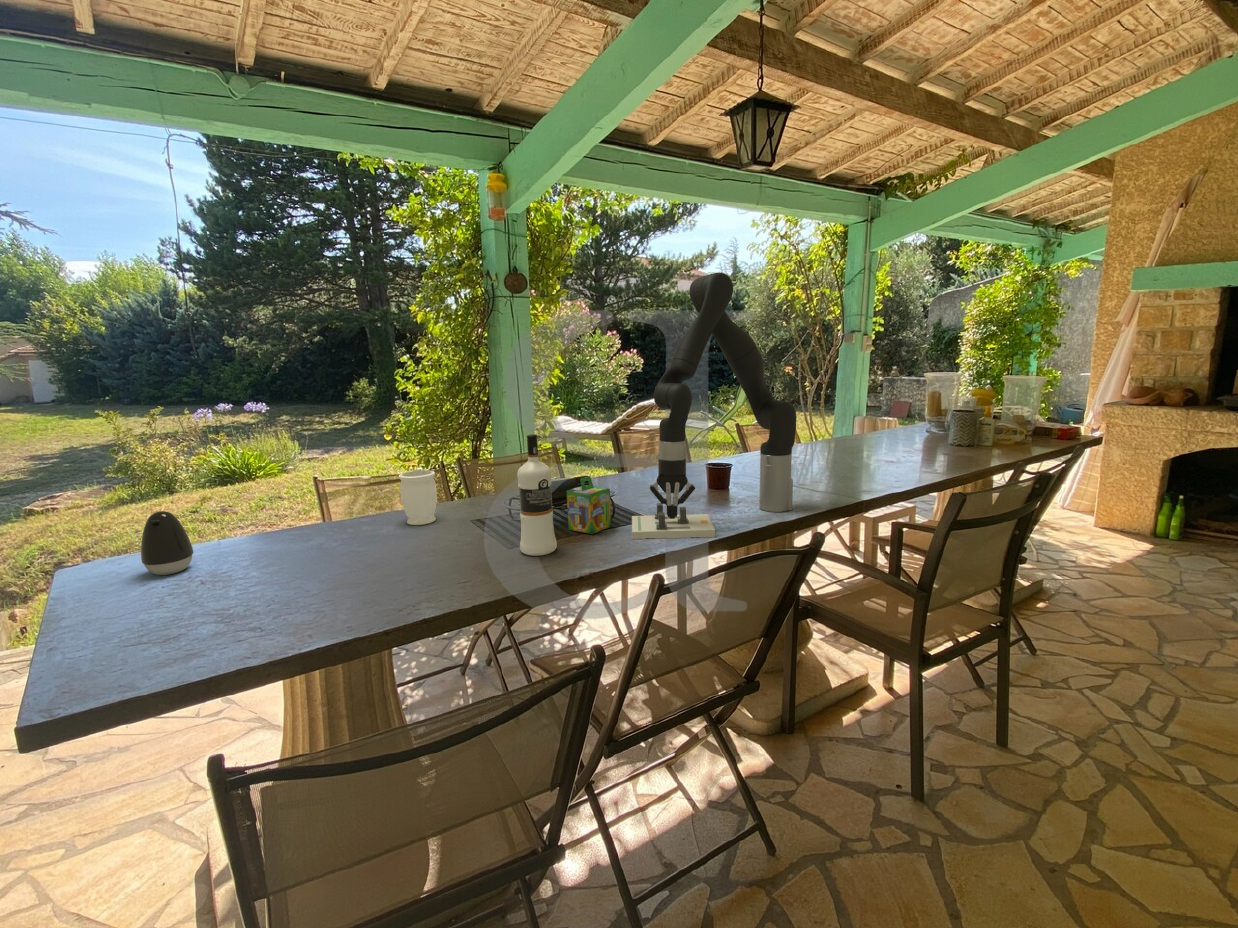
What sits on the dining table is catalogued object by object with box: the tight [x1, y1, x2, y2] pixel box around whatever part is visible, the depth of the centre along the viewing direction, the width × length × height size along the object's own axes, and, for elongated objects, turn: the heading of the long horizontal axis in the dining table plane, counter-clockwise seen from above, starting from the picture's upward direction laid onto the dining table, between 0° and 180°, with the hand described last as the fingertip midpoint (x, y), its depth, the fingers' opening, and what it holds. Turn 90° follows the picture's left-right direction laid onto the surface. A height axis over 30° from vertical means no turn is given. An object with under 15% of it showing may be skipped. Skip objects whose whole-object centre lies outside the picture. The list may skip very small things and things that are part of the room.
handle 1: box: [654, 502, 664, 518], centre depth 173 cm, size 3×3×4 cm
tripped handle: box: [678, 506, 689, 523], centre depth 168 cm, size 3×3×4 cm
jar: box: [398, 469, 438, 526], centre depth 183 cm, size 11×10×15 cm
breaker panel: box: [631, 513, 716, 540], centre depth 169 cm, size 22×15×2 cm
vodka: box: [516, 433, 558, 557], centre depth 152 cm, size 9×9×30 cm
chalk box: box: [566, 475, 612, 535], centre depth 171 cm, size 9×9×15 cm
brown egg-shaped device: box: [140, 510, 194, 576], centre depth 147 cm, size 10×10×15 cm
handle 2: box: [656, 512, 667, 529], centre depth 164 cm, size 3×3×4 cm
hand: (671, 518), depth 169 cm, fingers closed
